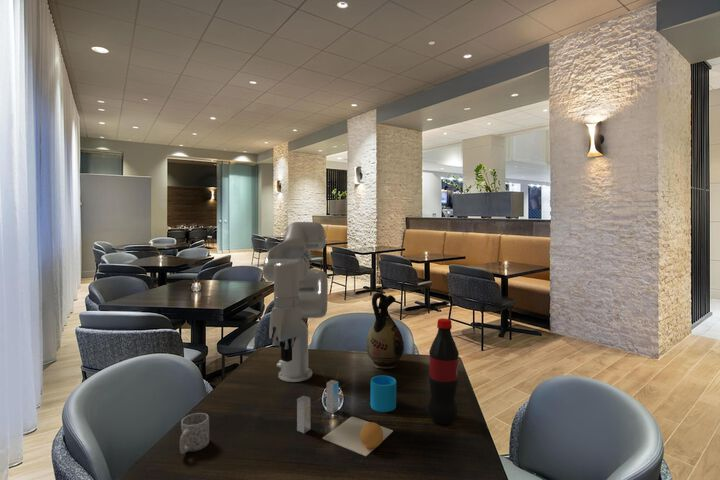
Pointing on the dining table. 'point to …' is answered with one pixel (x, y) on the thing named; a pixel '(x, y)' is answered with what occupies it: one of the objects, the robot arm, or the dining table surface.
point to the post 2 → (332, 396)
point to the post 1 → (303, 414)
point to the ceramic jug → (384, 335)
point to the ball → (371, 435)
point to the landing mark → (352, 435)
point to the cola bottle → (443, 375)
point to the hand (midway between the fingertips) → (286, 360)
